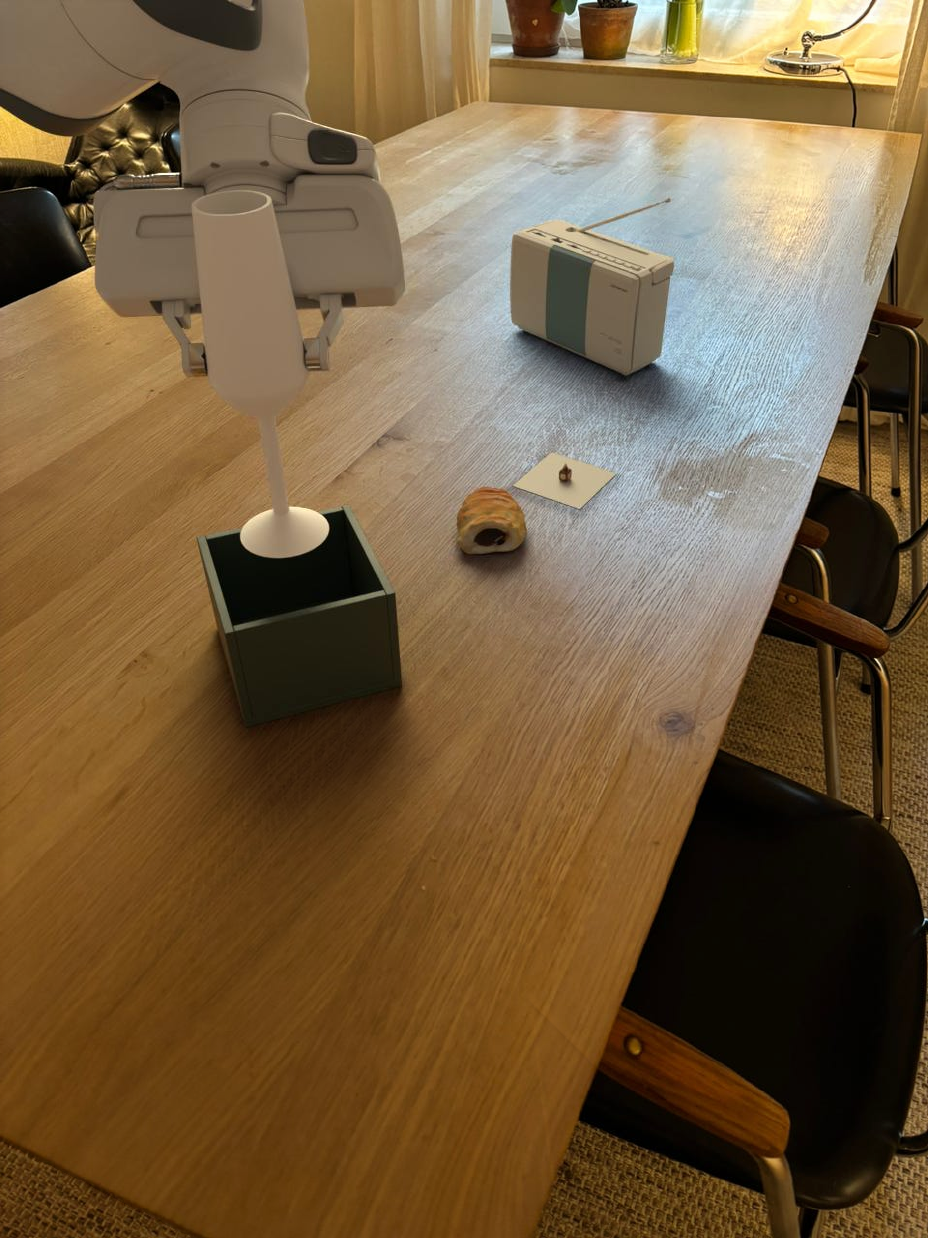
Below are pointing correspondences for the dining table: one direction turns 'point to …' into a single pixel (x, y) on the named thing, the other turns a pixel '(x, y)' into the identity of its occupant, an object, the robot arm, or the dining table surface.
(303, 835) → the dining table surface
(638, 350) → the radio
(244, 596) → the bin
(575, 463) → the beige flat slab
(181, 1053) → the dining table surface
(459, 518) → the pastry
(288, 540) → the champagne flute
